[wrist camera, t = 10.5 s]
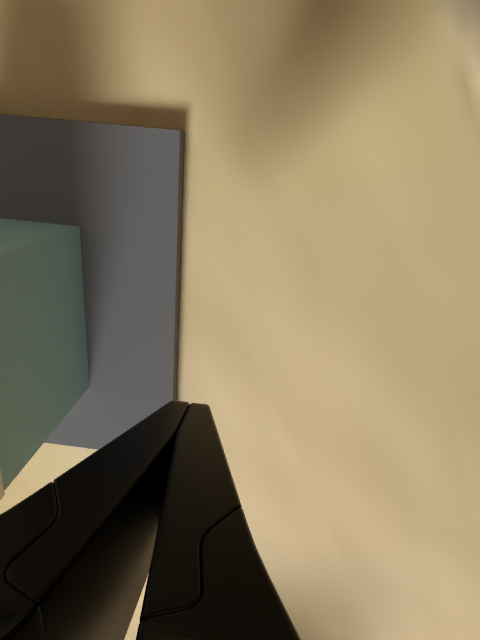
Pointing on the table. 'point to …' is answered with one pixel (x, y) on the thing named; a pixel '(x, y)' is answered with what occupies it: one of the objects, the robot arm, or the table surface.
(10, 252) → the pale teal block
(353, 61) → the table surface
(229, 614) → the robot arm
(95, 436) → the mat
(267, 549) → the table surface
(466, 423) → the table surface
